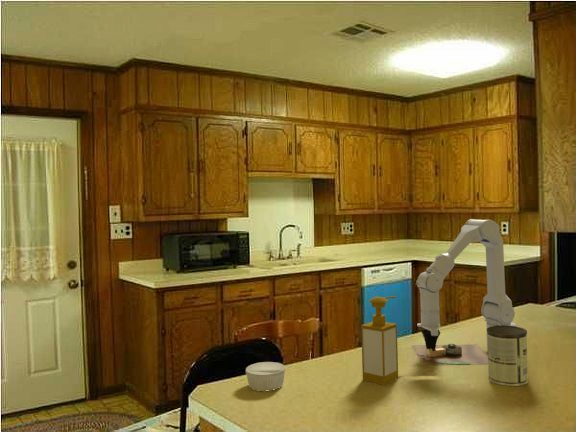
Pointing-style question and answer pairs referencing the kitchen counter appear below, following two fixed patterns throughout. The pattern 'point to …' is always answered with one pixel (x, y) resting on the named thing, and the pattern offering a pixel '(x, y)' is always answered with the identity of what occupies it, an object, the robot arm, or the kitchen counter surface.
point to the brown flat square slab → (469, 356)
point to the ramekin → (265, 375)
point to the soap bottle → (379, 347)
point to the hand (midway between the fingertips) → (431, 352)
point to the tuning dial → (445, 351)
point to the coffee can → (507, 355)
